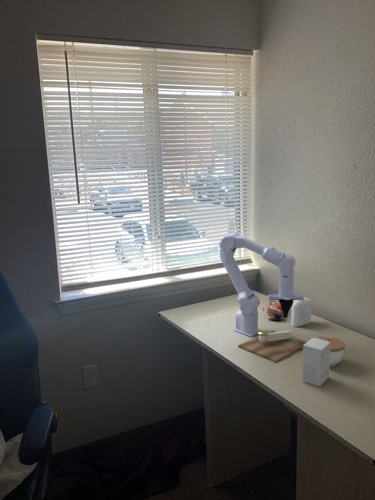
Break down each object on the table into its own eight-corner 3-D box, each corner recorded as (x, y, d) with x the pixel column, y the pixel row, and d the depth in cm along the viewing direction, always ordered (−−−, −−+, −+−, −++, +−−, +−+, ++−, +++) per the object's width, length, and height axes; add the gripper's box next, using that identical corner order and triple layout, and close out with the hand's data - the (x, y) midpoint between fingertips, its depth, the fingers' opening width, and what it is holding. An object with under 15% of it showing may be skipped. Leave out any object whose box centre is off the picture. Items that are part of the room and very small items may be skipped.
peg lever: (260, 344, 162) (260, 334, 161) (256, 340, 166) (256, 331, 165) (291, 340, 166) (292, 330, 165) (287, 336, 169) (287, 327, 168)
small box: (311, 371, 142) (313, 336, 139) (329, 377, 138) (331, 341, 135) (301, 381, 136) (302, 344, 133) (319, 387, 132) (321, 349, 129)
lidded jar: (349, 368, 144) (351, 343, 142) (320, 370, 143) (322, 345, 141) (334, 354, 155) (335, 331, 153) (307, 357, 153) (308, 333, 151)
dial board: (238, 347, 163) (238, 344, 162) (272, 332, 177) (272, 329, 177) (275, 362, 149) (275, 359, 149) (309, 344, 163) (309, 342, 163)
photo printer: (304, 320, 190) (305, 294, 188) (312, 323, 186) (313, 297, 184) (289, 325, 184) (290, 299, 182) (296, 328, 181) (297, 301, 178)
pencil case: (292, 310, 204) (293, 301, 203) (280, 323, 187) (280, 313, 186) (271, 307, 209) (271, 297, 208) (257, 319, 193) (257, 309, 192)
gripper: (270, 288, 162) (269, 320, 165) (306, 287, 162) (305, 320, 165) (267, 283, 169) (266, 314, 172) (302, 283, 169) (301, 314, 172)
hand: (285, 316), depth 169 cm, fingers closed
